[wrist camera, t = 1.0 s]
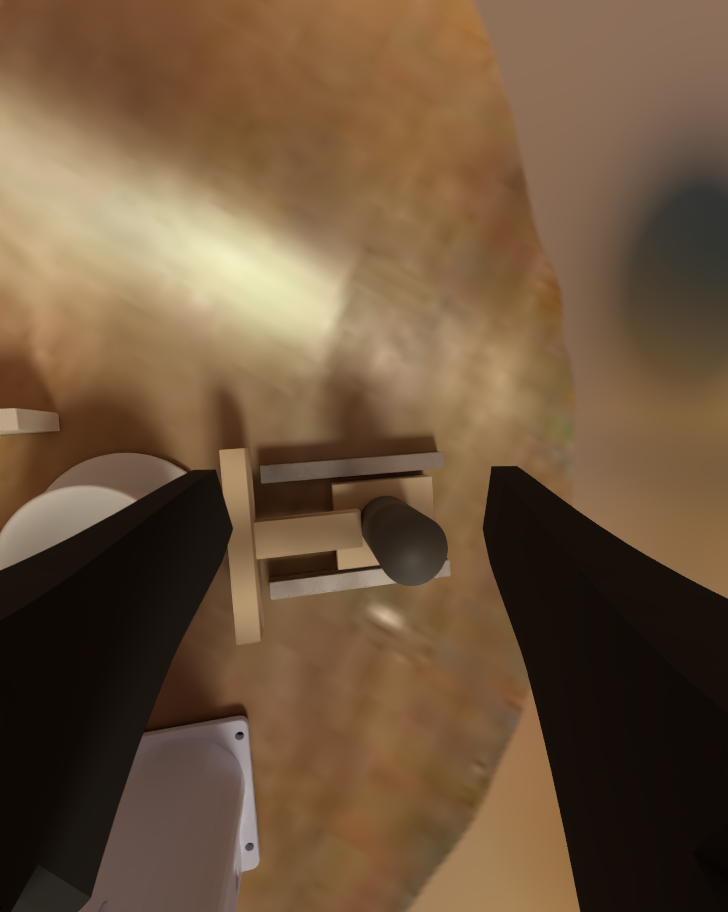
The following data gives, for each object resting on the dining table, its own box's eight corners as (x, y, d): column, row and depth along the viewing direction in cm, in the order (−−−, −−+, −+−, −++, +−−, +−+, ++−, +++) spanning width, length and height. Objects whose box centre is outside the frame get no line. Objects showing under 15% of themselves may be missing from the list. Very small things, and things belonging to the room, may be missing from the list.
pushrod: (431, 589, 24) (482, 648, 17) (246, 615, 22) (220, 692, 15) (422, 435, 23) (470, 433, 17) (231, 448, 21) (198, 452, 15)
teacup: (174, 423, 21) (138, 419, 17) (252, 573, 22) (238, 608, 18) (-3, 500, 20) (-95, 519, 15) (89, 655, 21) (29, 715, 16)
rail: (444, 570, 24) (450, 575, 23) (272, 592, 22) (270, 599, 21) (437, 451, 24) (443, 451, 23) (261, 465, 22) (259, 466, 21)
